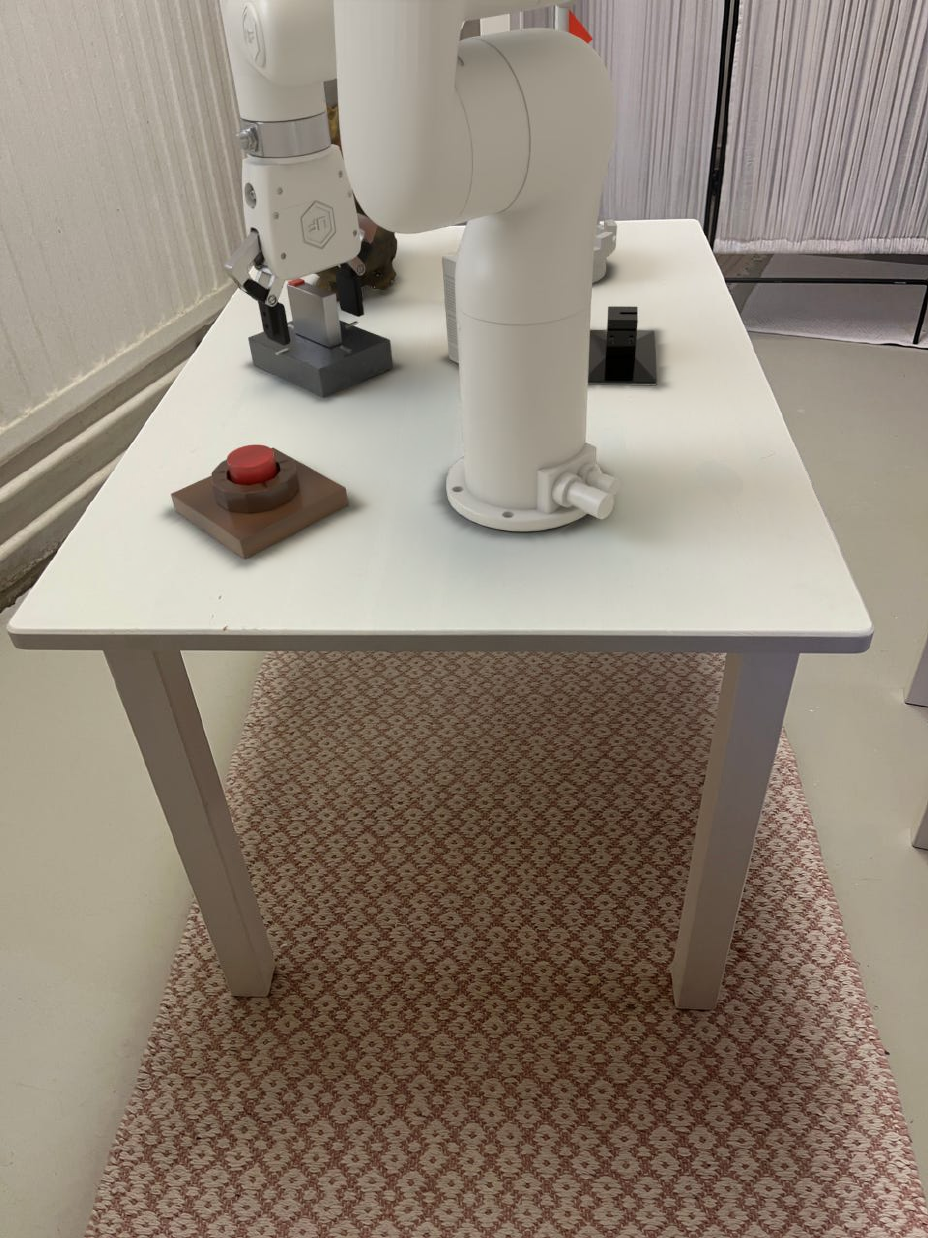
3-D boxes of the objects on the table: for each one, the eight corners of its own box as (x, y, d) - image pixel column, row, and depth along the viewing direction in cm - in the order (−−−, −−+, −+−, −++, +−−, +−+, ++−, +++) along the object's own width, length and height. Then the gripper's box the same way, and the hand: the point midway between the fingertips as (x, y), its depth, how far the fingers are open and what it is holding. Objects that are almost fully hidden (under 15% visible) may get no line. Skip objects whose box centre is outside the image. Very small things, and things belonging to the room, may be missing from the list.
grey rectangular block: (342, 343, 92) (335, 290, 89) (329, 348, 91) (322, 295, 88) (306, 327, 96) (298, 276, 92) (294, 332, 95) (285, 281, 91)
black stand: (656, 386, 88) (660, 339, 85) (579, 385, 89) (581, 339, 86) (654, 332, 98) (657, 289, 95) (584, 332, 99) (586, 289, 96)
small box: (507, 337, 99) (505, 235, 92) (541, 353, 95) (542, 248, 88) (446, 359, 95) (439, 254, 89) (479, 376, 92) (474, 269, 85)
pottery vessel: (329, 250, 124) (306, 81, 111) (409, 248, 123) (396, 77, 110) (291, 323, 105) (258, 129, 92) (386, 321, 104) (366, 124, 91)
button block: (348, 505, 74) (343, 467, 72) (244, 560, 69) (235, 520, 67) (276, 464, 80) (269, 427, 78) (175, 511, 75) (164, 474, 73)
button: (286, 473, 73) (282, 454, 71) (248, 492, 71) (243, 472, 70) (260, 458, 75) (256, 439, 74) (222, 476, 73) (217, 456, 72)
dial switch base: (398, 365, 95) (395, 336, 93) (318, 400, 89) (313, 369, 87) (326, 336, 101) (321, 307, 99) (248, 366, 96) (242, 337, 94)
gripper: (226, 163, 75) (265, 365, 86) (389, 122, 84) (406, 310, 95) (179, 150, 79) (222, 344, 90) (338, 112, 88) (360, 293, 99)
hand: (316, 326), depth 93 cm, fingers open, 8 cm apart
